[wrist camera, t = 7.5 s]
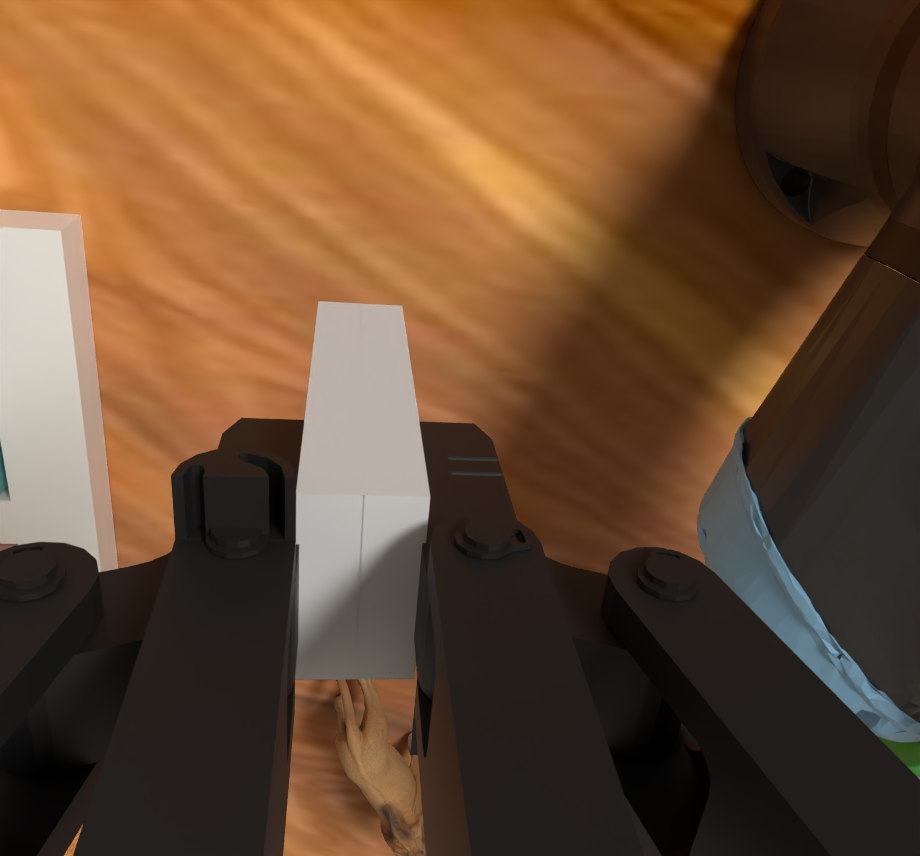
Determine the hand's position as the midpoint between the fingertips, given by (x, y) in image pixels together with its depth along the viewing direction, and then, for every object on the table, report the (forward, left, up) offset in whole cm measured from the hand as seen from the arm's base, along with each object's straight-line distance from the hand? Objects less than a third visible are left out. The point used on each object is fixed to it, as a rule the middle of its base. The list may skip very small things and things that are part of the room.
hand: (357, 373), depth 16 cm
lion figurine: (-4, +36, -27) cm, 45 cm away
